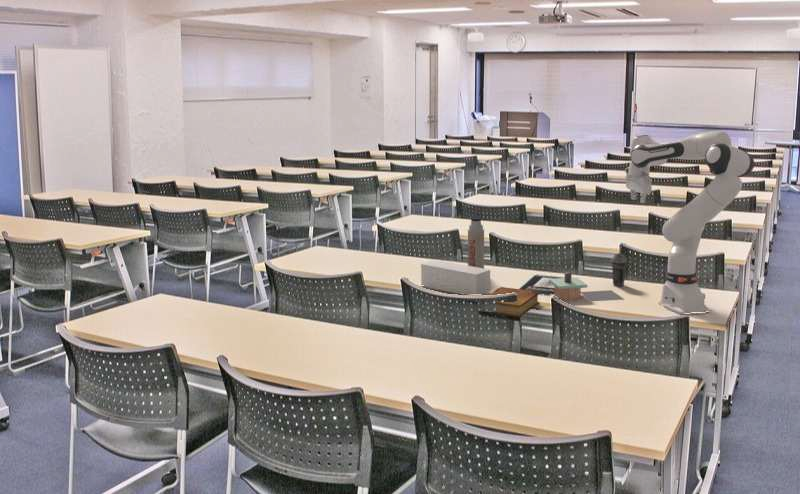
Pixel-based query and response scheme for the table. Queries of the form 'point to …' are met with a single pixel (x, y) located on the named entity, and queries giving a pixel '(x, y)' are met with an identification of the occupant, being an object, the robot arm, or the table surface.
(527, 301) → the diary
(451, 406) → the table surface
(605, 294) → the mat
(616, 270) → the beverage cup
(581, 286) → the teal square knobbed lid
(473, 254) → the thermos bottle
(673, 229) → the robot arm
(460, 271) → the white oblong block
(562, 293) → the bowl
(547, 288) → the sketchbook
